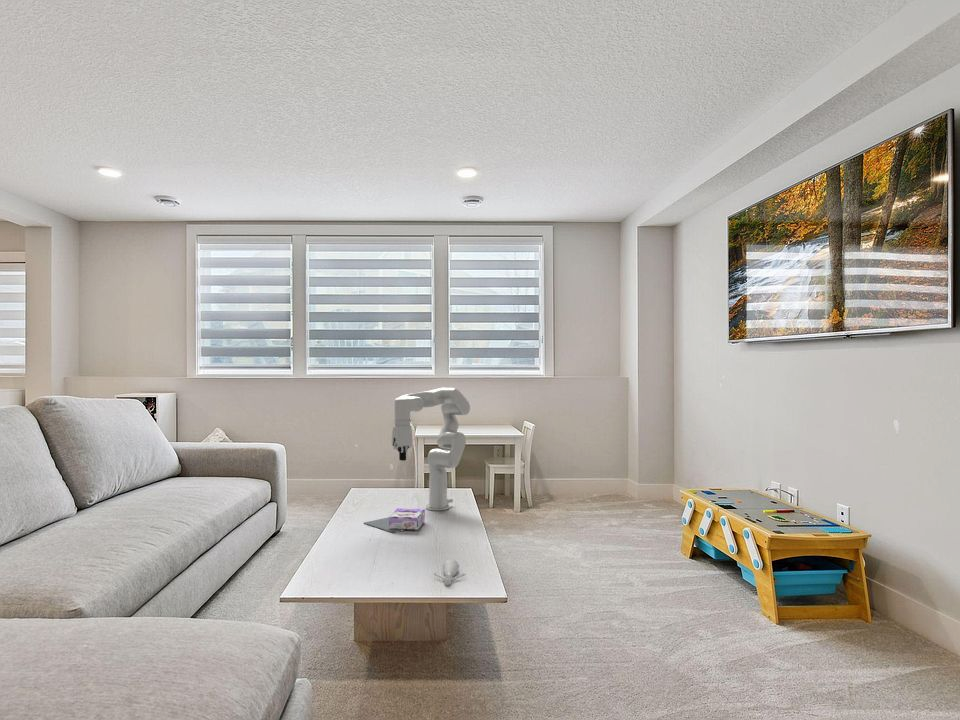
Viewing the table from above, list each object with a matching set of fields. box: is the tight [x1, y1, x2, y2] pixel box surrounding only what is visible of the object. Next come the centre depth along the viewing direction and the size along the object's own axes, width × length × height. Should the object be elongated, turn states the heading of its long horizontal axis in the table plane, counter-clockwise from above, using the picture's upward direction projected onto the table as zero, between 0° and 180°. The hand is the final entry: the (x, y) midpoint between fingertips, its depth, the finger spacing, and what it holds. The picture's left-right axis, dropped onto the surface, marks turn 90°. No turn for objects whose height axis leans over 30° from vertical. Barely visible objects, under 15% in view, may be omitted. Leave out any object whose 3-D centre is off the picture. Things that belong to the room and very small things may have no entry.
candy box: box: [388, 507, 426, 531], centre depth 277 cm, size 14×6×16 cm
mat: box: [363, 516, 406, 534], centre depth 279 cm, size 17×22×1 cm
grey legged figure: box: [433, 559, 466, 586], centre depth 211 cm, size 12×4×18 cm
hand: (402, 460), depth 289 cm, fingers closed
